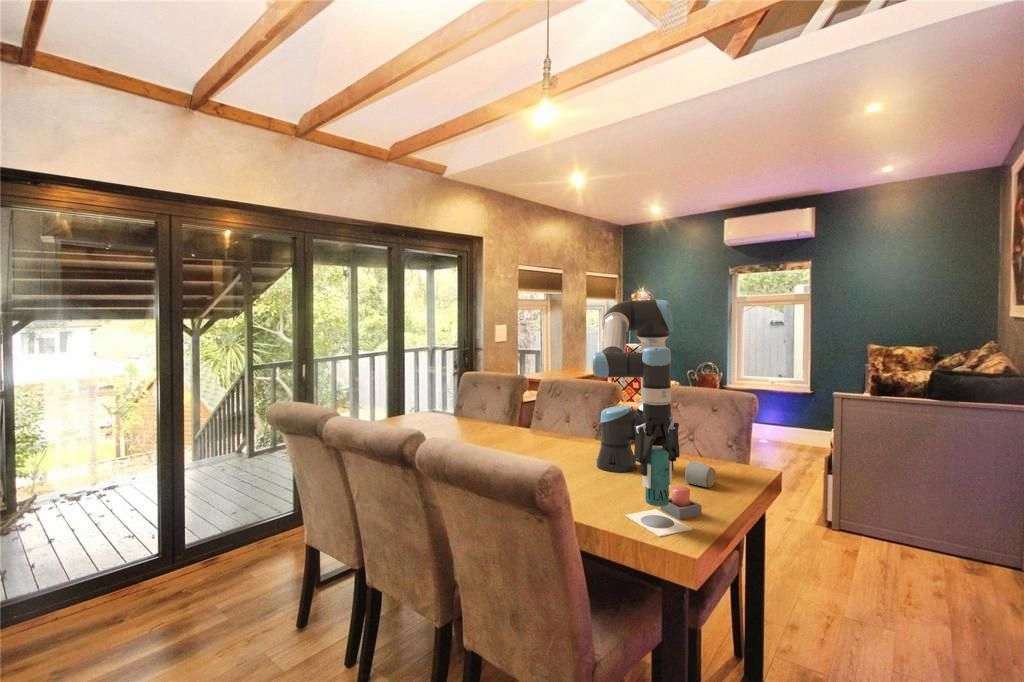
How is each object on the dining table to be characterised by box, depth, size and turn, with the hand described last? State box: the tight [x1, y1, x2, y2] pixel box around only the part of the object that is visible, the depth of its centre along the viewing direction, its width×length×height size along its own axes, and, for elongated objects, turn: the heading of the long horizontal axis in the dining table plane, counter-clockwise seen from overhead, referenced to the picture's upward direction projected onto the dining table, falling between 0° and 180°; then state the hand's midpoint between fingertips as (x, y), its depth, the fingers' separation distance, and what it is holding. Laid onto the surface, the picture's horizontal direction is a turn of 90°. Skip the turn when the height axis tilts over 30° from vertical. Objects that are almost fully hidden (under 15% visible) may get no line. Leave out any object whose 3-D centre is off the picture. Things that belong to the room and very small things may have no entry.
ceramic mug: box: [684, 460, 716, 488], centre depth 164 cm, size 11×8×8 cm
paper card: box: [624, 508, 693, 538], centre depth 133 cm, size 15×11×1 cm
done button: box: [671, 485, 691, 507], centre depth 140 cm, size 5×5×5 cm
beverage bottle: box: [644, 436, 670, 508], centre depth 133 cm, size 6×7×20 cm
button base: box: [660, 497, 703, 521], centre depth 140 cm, size 8×8×3 cm
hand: (657, 484), depth 133 cm, fingers closed on beverage bottle, 6 cm apart
